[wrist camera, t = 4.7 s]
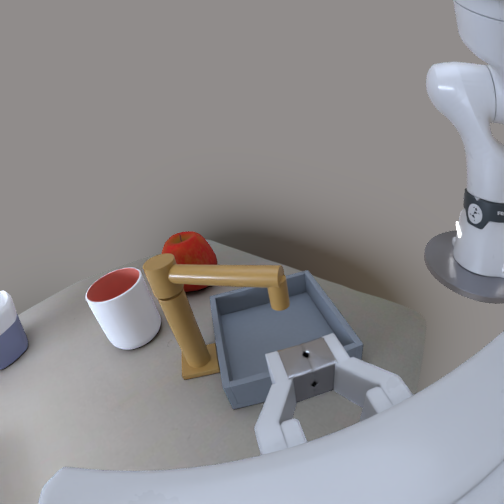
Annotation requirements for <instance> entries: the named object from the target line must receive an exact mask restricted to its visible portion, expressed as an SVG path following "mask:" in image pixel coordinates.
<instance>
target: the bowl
mask: <svg viewBox="0 0 504 504" xmlns="http://www.w3.org/2000/svg"><path fill="white" fill-rule="evenodd" d="M27 347H28V339H27V336H26V334H25V332H24V329H23V327H22V325H21V322H20V320H19V317H18V314H17V312H16V309H15V306H14V304H13V301H12V297H11V296H10V294H8V293H7V292H6V291H0V370H1V369H4V368H5V367H7V366H8V365H10V364H11V363H13V362H14V361H15V360H16V359H17V358H19V357H20V355H21V354H22V353H24V352H25V350H26V349H27Z"/></svg>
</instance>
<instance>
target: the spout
mask: <svg viewBox="0 0 504 504" xmlns="http://www.w3.org/2000/svg"><path fill="white" fill-rule="evenodd" d="M143 269H144V272H145V274H146V277H147V279H148V282H149V284H150V286H151V289H152V291H153V294H154V296H155V297H156V298H159V299H166V298H170V297H173V296H175V295H176V294H178V293H179V292H180V291H181V290H182V289H183V287H184V284H192V285H211V286H232V287H258V288H267V289H268V294H269V299H270V304H271V308H272V309H273V310H276V311H282V310H285V309H287V308H288V307H289V305H290V301H289V294H288V287H287V280H286V276H285V275H284V271H283V267H282V266H281V265H188V264H177V263H176V260H175V257H174V255H173V254H169V253H165V254H160V255H157V256H154V257H152V258H150V259H149V260H147V261H146V262H145V263H144V265H143Z"/></svg>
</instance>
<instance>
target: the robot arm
mask: <svg viewBox="0 0 504 504" xmlns="http://www.w3.org/2000/svg"><path fill="white" fill-rule="evenodd" d="M453 3H454V8H455V13H456V18H457V26H458V32H459V35H460V37H461V39H462V41H463V42H464V44H465V45H466V46H467V47H468V48H469V49H470V50H471V51H472V52H473V53H474V54H475V55H477V56H478V57H479V58H480V59H482V60H483V61H485V62H486V63H488V64H489V65H479V64H472V63H464V62H445V63H439V64H434V65H432V67H431V68H430V69H429V71H428V73H427V77H426V89H427V93H428V96H429V98H430V100H431V102H432V103H433V105H434V106H435V107H436V108H437V110H438V111H439V112H441V113H442V114H443V115H444V116H445V117H447V118H448V119H449V120H450V121H451V123H452V124H453V125H454V126H455V128H456V129H457V131H458V133H459V134H460V137H461V139H462V141H463V144H464V148H465V152H466V160H467V188H466V189H465V194H464V208H465V209H463V210H462V211H461V213H460V218H459V223H458V221H457V222H456V227H457V233H456V237H453V239H452V244H453V246H454V249H453V256H454V258H455V260H456V261H457V262H458V263H459V264H460V265H461V266H462V267H464V268H465V269H467V270H469V271H471V272H473V273H476V274H479V275H483V276H489V277H501V278H504V145H503V144H502V143H501V142H499V141H498V140H497V139H495V138H494V137H493V135H492V132H491V129H490V123H492V122H493V123H499V124H504V0H453ZM265 356H266V361H267V365H268V370H269V373H270V377H271V381H272V385H271V388H270V391H269V393H268V396H267V398H266V401H265V403H264V406H263V408H262V411H261V413H260V415H259V418H258V420H257V423H256V425H255V427H254V430H255V434H256V438H257V441H258V445H259V449H260V453H261V455H260V456H255V457H251V458H246V459H242V460H237V461H231V462H226V463H220V464H214V465H207V466H199V467H191V468H181V469H169V470H150V471H115V470H96V469H84V468H75V467H63V468H61V469H60V470H59V471H58V472H57V473H56V474H55V475H54V476H53V477H52V478H51V479H50V480H49V481H48V482H47V483H46V484H45V485H44V487H43V489H42V491H41V495H40V498H39V504H504V331H503V332H502V333H501V334H499V335H498V336H497V337H496V338H495V339H494V340H492V341H491V342H490V343H489V344H487V345H486V346H485V347H484V348H483V349H481V350H480V351H479V352H478V353H476V354H475V355H474V356H472V357H471V358H470V359H468V360H467V361H465V362H464V363H463V364H461V365H460V366H458V367H457V368H456V369H454V370H453V371H451V372H450V373H448V374H447V375H445V376H444V377H443V378H441V379H440V380H438V381H436V382H434V383H433V384H431V385H430V386H428V387H426V388H425V389H423V390H421V391H420V392H418V393H416V394H414V395H413V394H412V393H411V391H410V390H409V389H408V387H407V386H406V384H405V383H404V382H403V380H402V379H401V378H400V376H399V375H397V374H395V373H392V372H389V371H387V370H384V369H382V368H379V367H377V366H374V365H372V364H370V363H367V362H365V361H362V360H360V359H358V358H355V357H351V358H350V357H349V355H348V354H347V352H346V351H345V349H344V348H343V346H342V344H341V343H340V341H339V340H338V338H337V337H336V335H335V334H333V333H331V334H329V335H326V336H323V337H320V338H317V339H314V340H311V341H308V342H305V343H302V344H300V345H296V346H293V347H289V348H286V349H282V350H278V351H275V352H271V353H268V354H265ZM332 390H334V391H335V392H337V393H338V394H340V395H342V396H343V397H345V398H347V399H348V400H350V401H352V402H353V403H355V404H357V405H358V406H360V407H362V408H363V410H362V413H361V417H360V421H359V422H358V423H356V424H354V425H351V426H349V427H347V428H344V429H342V430H339V431H337V432H334V433H331V434H329V435H326V436H323V437H320V438H318V439H315V440H312V441H309V442H307V440H306V438H305V435H304V433H303V430H302V428H301V425H300V423H299V420H298V419H294V418H293V415H294V411H295V407H296V403H297V402H300V401H303V400H305V399H308V398H311V397H314V396H317V395H320V394H323V393H326V392H329V391H332ZM292 418H293V419H292Z"/></svg>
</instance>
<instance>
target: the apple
mask: <svg viewBox="0 0 504 504" xmlns="http://www.w3.org/2000/svg"><path fill="white" fill-rule="evenodd" d="M165 253H169V254H173V255H174V257H175V260H176V263H177V264H188V265H217V259H216V255H215V253H214V252H213V250H212V248H211V247H210V245H209V244H208V242H207V241H206V240H205V239H204V238H203V237H202V236H201V235H200V234H198V233H196V232H181V233H177V234H175V235H173V236H171V237H170V238H169V239H168V240H167V241H166V242H165V245H164V247H163V250H162V254H165ZM208 286H209V285H192V284H184V287H183V288H184V291H185V292H189V291H197V290H200V289H203V288H206V287H208Z"/></svg>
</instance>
